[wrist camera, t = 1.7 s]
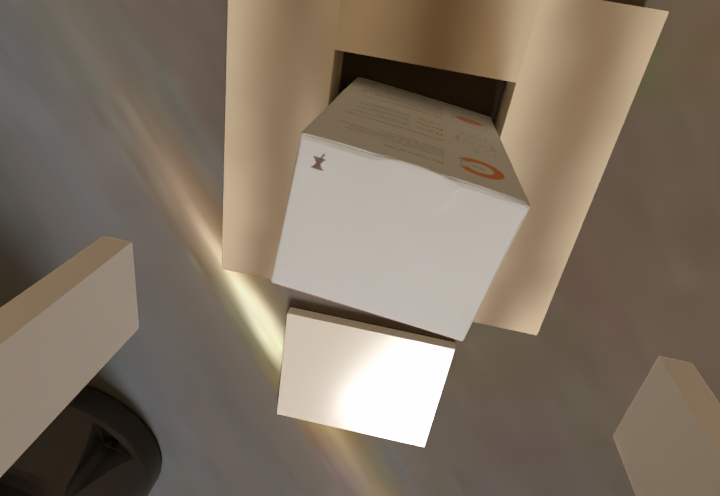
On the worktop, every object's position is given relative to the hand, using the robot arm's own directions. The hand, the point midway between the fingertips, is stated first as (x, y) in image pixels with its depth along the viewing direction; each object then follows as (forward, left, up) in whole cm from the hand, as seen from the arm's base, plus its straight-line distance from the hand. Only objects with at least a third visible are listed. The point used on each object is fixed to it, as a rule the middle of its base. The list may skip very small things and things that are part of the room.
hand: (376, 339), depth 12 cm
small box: (0, 0, -19) cm, 19 cm away
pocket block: (0, 0, -19) cm, 19 cm away
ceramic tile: (0, -18, -19) cm, 26 cm away
